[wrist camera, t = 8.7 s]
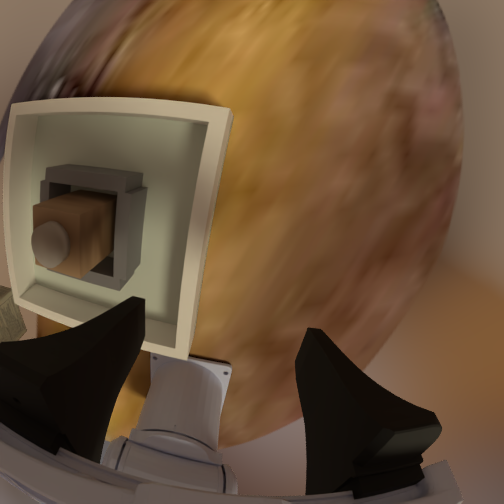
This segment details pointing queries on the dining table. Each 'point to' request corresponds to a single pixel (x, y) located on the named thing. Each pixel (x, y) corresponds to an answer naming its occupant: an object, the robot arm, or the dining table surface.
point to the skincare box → (10, 317)
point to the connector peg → (74, 231)
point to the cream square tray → (118, 205)
